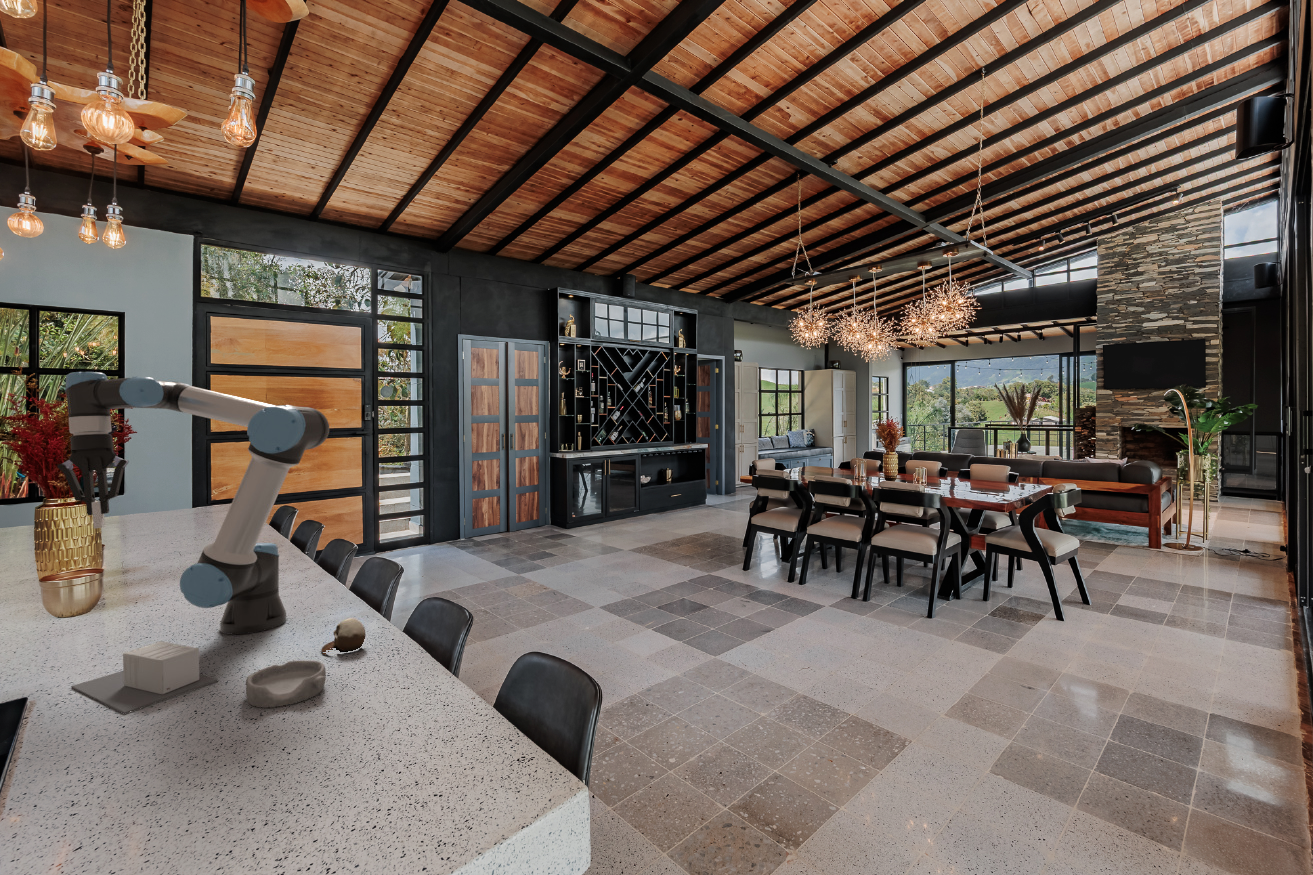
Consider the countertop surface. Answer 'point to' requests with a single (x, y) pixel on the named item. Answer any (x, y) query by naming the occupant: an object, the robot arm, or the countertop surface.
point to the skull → (347, 636)
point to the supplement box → (161, 667)
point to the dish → (285, 683)
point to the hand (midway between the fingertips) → (99, 527)
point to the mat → (131, 692)
